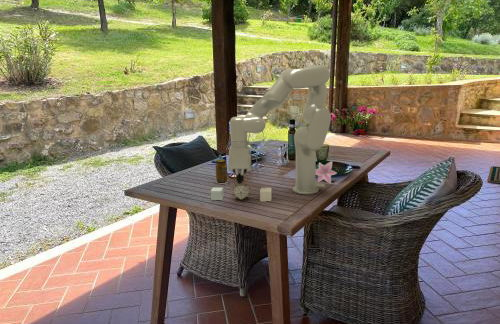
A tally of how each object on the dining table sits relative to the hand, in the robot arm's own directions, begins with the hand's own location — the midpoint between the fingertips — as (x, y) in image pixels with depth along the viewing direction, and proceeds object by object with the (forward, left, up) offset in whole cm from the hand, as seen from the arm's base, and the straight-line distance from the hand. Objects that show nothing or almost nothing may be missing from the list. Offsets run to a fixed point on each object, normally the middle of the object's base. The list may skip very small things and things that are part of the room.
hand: (240, 182), depth 182 cm
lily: (-40, -29, -9) cm, 50 cm away
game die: (0, 0, -8) cm, 8 cm away
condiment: (+14, -25, -9) cm, 30 cm away
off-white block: (-12, 0, -8) cm, 14 cm away
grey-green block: (+11, 0, -8) cm, 14 cm away
